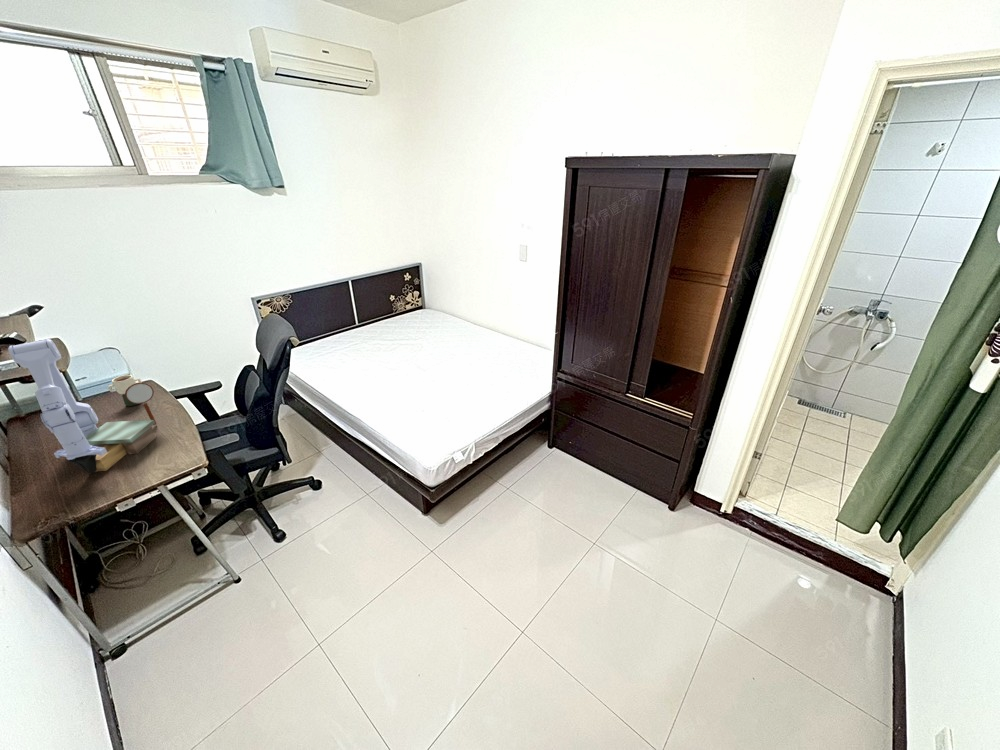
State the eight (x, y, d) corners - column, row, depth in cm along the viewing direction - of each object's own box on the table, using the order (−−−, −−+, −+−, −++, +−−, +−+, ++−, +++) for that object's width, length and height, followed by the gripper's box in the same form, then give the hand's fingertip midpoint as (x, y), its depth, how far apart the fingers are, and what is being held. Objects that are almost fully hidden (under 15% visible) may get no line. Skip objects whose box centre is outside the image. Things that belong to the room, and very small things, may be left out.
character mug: (149, 396, 185) (137, 371, 179) (150, 402, 180) (138, 376, 174) (118, 405, 178) (105, 379, 172) (119, 411, 174) (105, 385, 168)
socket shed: (89, 459, 144) (79, 441, 141) (116, 438, 155) (106, 422, 152) (139, 456, 146) (129, 439, 142) (161, 436, 157) (153, 419, 153)
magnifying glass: (143, 431, 160) (121, 388, 150) (142, 430, 161) (120, 387, 151) (168, 421, 166) (149, 380, 157) (167, 420, 167) (147, 378, 158)
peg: (91, 471, 139) (84, 460, 136) (117, 450, 149) (111, 439, 147) (106, 470, 139) (99, 459, 137) (131, 449, 150) (126, 438, 147)
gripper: (37, 448, 126) (59, 480, 132) (86, 446, 127) (105, 478, 133) (57, 435, 132) (77, 467, 139) (103, 433, 133) (121, 464, 140)
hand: (92, 471), depth 136 cm, fingers closed
